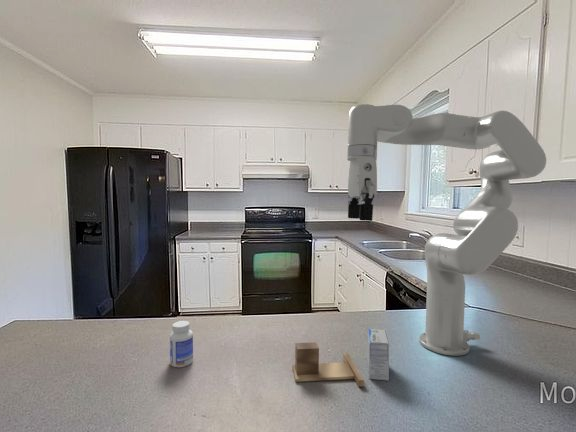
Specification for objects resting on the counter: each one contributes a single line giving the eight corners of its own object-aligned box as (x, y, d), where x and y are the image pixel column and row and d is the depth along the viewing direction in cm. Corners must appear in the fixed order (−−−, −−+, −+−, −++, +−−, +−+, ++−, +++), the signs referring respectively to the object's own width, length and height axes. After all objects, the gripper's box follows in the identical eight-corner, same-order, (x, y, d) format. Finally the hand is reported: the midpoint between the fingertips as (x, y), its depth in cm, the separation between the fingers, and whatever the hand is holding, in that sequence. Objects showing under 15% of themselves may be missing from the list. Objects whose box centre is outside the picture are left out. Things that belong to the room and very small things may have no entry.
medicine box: (388, 381, 68) (390, 344, 68) (368, 379, 69) (369, 341, 69) (385, 363, 76) (385, 329, 75) (366, 361, 77) (367, 327, 76)
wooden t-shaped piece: (347, 358, 78) (348, 332, 78) (364, 386, 66) (364, 356, 66) (290, 360, 76) (291, 334, 76) (297, 390, 64) (297, 359, 64)
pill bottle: (197, 358, 77) (197, 321, 77) (183, 369, 72) (183, 329, 72) (179, 355, 79) (179, 318, 78) (165, 365, 74) (164, 326, 73)
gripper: (389, 149, 72) (386, 221, 73) (364, 159, 89) (362, 218, 90) (358, 147, 71) (355, 220, 72) (339, 158, 88) (337, 217, 89)
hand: (359, 219), depth 81 cm, fingers open, 9 cm apart
